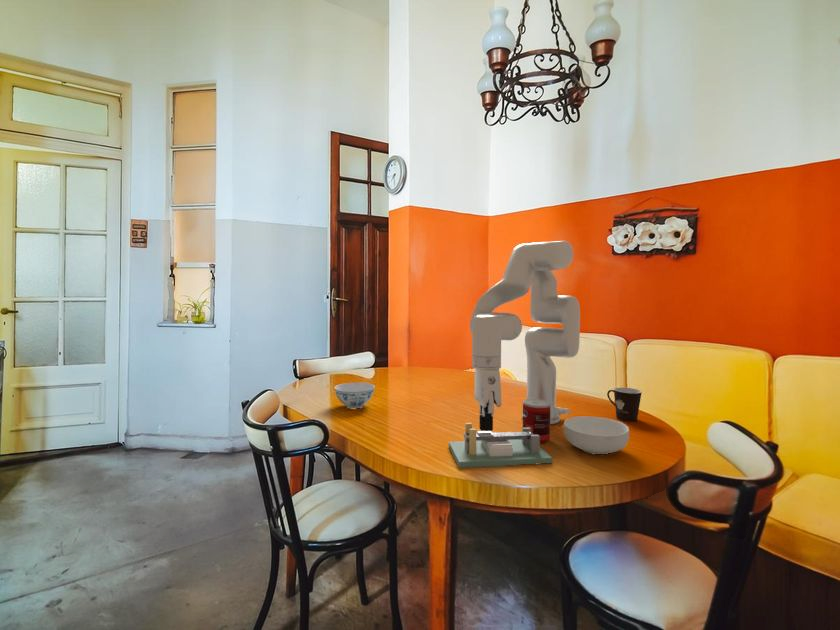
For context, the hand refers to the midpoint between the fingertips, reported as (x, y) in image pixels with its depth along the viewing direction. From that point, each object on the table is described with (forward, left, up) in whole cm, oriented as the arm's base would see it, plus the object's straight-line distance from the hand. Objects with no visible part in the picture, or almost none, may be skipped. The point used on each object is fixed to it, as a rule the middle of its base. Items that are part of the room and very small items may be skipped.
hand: (486, 429), depth 110 cm
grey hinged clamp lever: (-4, 0, -3) cm, 4 cm away
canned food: (-18, -11, -7) cm, 22 cm away
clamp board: (-3, 0, -7) cm, 8 cm away
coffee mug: (-57, -28, -7) cm, 64 cm away
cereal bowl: (-31, -1, -7) cm, 32 cm away
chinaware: (+37, -51, -7) cm, 63 cm away
